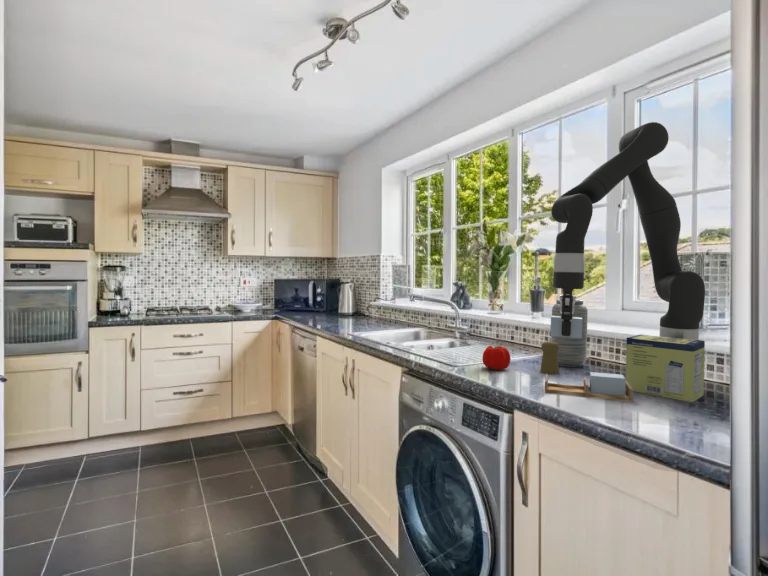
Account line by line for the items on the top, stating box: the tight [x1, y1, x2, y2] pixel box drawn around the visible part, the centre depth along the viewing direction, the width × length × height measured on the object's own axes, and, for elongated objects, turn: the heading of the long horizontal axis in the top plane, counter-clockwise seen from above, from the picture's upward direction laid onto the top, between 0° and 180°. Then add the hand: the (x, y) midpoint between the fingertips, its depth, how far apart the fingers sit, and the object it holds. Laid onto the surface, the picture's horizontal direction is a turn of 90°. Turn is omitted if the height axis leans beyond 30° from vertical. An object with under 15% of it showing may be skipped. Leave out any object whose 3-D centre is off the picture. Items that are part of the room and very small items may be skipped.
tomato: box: [482, 345, 511, 371], centre depth 146 cm, size 9×9×8 cm
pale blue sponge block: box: [589, 371, 626, 396], centre depth 110 cm, size 8×4×5 cm, turn 68°
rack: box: [544, 373, 634, 403], centre depth 112 cm, size 20×9×4 cm, turn 68°
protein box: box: [625, 334, 706, 404], centre depth 113 cm, size 10×16×16 cm
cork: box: [539, 340, 560, 375], centre depth 135 cm, size 6×6×11 cm
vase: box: [550, 299, 589, 368], centre depth 153 cm, size 12×12×23 cm
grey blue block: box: [549, 315, 582, 338], centre depth 116 cm, size 8×4×5 cm, turn 67°
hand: (565, 334), depth 116 cm, fingers closed on grey blue block, 4 cm apart
